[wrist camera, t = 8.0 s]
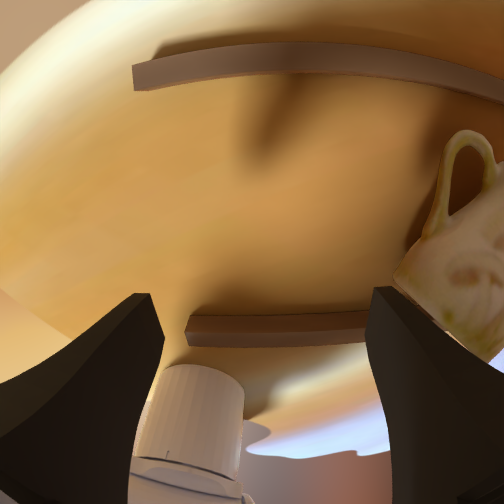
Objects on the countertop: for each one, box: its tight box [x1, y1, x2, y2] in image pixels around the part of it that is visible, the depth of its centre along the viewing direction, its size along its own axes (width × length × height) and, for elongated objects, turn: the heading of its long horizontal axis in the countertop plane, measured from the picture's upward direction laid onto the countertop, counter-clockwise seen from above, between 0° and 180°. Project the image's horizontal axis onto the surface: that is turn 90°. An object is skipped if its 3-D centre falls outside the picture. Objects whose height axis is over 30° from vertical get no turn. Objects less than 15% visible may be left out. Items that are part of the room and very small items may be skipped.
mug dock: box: [132, 42, 504, 348], centre depth 13 cm, size 15×29×2 cm, turn 94°
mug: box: [392, 130, 504, 364], centre depth 11 cm, size 8×10×10 cm
